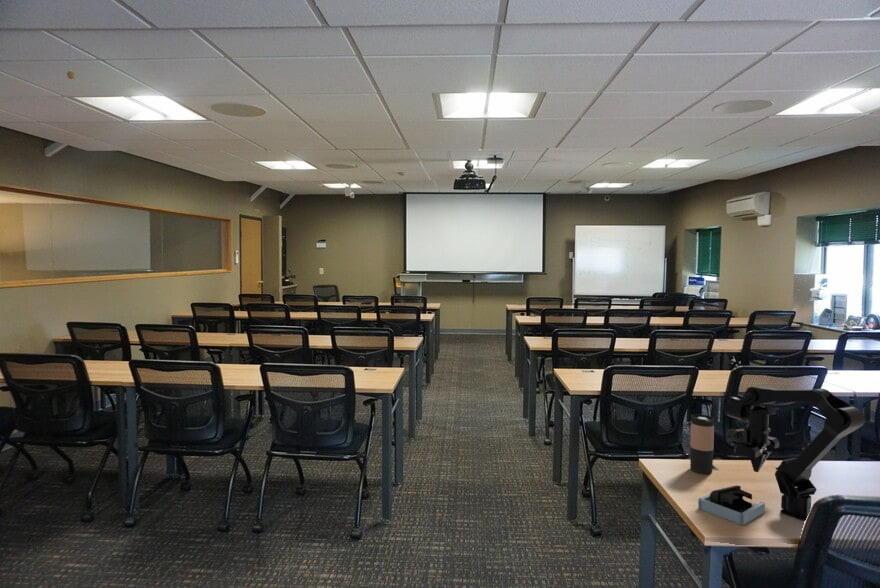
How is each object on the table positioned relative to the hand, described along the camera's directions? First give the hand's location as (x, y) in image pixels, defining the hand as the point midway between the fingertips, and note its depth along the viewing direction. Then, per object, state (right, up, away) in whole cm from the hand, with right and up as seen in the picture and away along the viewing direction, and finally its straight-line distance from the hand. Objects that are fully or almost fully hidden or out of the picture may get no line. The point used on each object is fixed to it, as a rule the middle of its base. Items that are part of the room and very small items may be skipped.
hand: (756, 471), depth 164 cm
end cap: (-14, -9, -10) cm, 19 cm away
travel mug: (-7, -8, +22) cm, 24 cm away
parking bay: (-14, -9, -10) cm, 19 cm away
